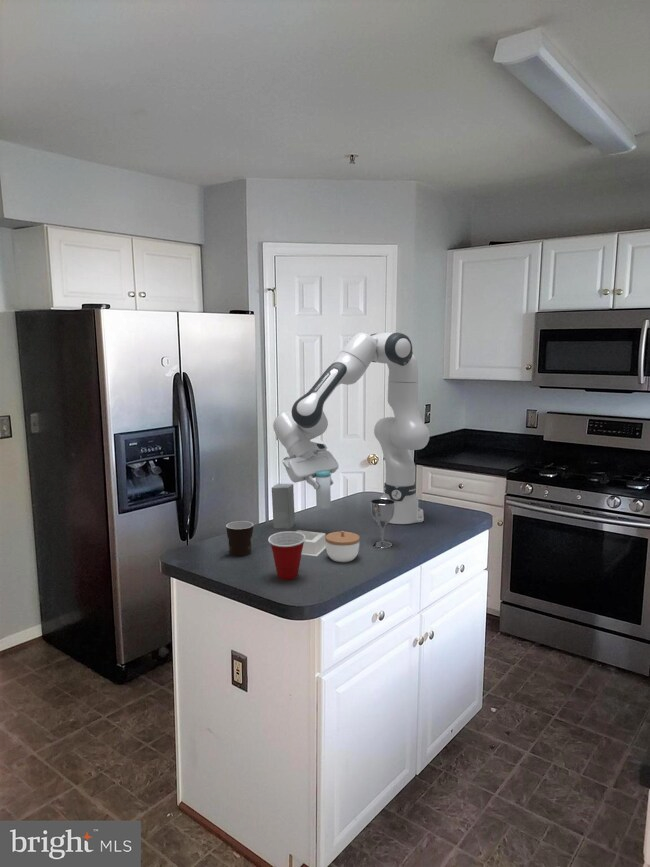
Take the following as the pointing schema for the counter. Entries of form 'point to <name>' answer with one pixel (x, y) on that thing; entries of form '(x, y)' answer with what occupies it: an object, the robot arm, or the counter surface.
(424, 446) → the robot arm
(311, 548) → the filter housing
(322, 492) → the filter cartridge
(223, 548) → the counter surface
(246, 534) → the coffee mug
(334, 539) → the lidded jar
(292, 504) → the skincare box
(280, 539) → the plastic cup
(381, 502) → the wine glass
